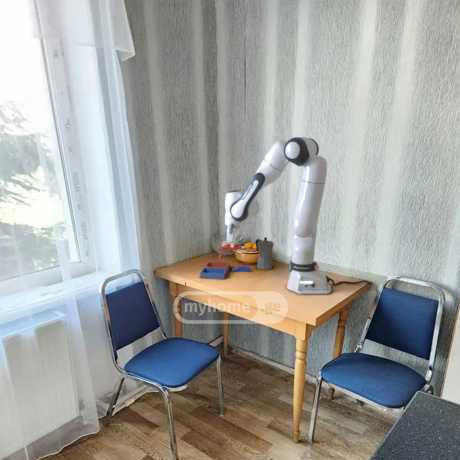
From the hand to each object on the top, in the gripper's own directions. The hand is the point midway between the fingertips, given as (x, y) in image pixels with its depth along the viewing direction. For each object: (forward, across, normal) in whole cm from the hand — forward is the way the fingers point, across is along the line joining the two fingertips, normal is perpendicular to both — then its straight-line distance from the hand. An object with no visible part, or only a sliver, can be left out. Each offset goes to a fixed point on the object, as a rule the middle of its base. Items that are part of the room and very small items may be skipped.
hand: (232, 246), depth 217 cm
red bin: (+16, +6, +10) cm, 19 cm away
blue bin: (+16, -5, +10) cm, 19 cm away
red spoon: (+2, 0, +2) cm, 3 cm away
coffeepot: (+16, +14, -16) cm, 27 cm away
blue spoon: (+16, +5, -3) cm, 17 cm away
